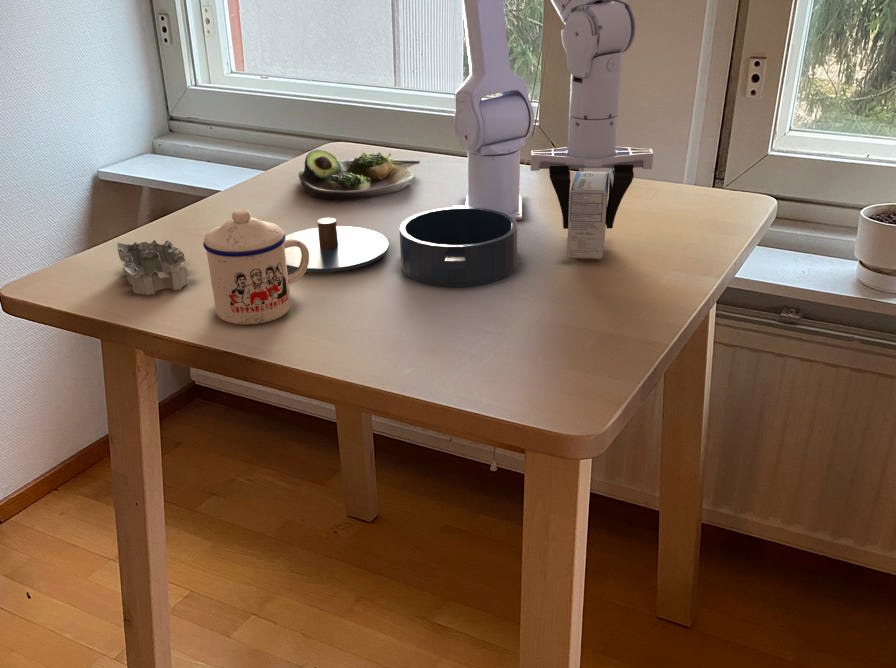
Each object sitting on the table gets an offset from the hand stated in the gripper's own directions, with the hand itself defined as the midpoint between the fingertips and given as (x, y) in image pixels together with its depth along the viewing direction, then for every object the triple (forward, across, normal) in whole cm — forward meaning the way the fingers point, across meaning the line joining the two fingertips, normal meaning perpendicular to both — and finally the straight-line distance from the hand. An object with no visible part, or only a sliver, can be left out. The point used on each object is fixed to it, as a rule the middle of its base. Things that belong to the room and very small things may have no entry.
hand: (587, 226), depth 126 cm
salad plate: (+4, -34, +30) cm, 45 cm away
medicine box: (+3, 0, 0) cm, 3 cm away
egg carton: (+4, -54, -8) cm, 55 cm away
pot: (+3, -16, -4) cm, 17 cm away
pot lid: (+3, -33, 0) cm, 33 cm away
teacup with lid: (+4, -38, -17) cm, 42 cm away
